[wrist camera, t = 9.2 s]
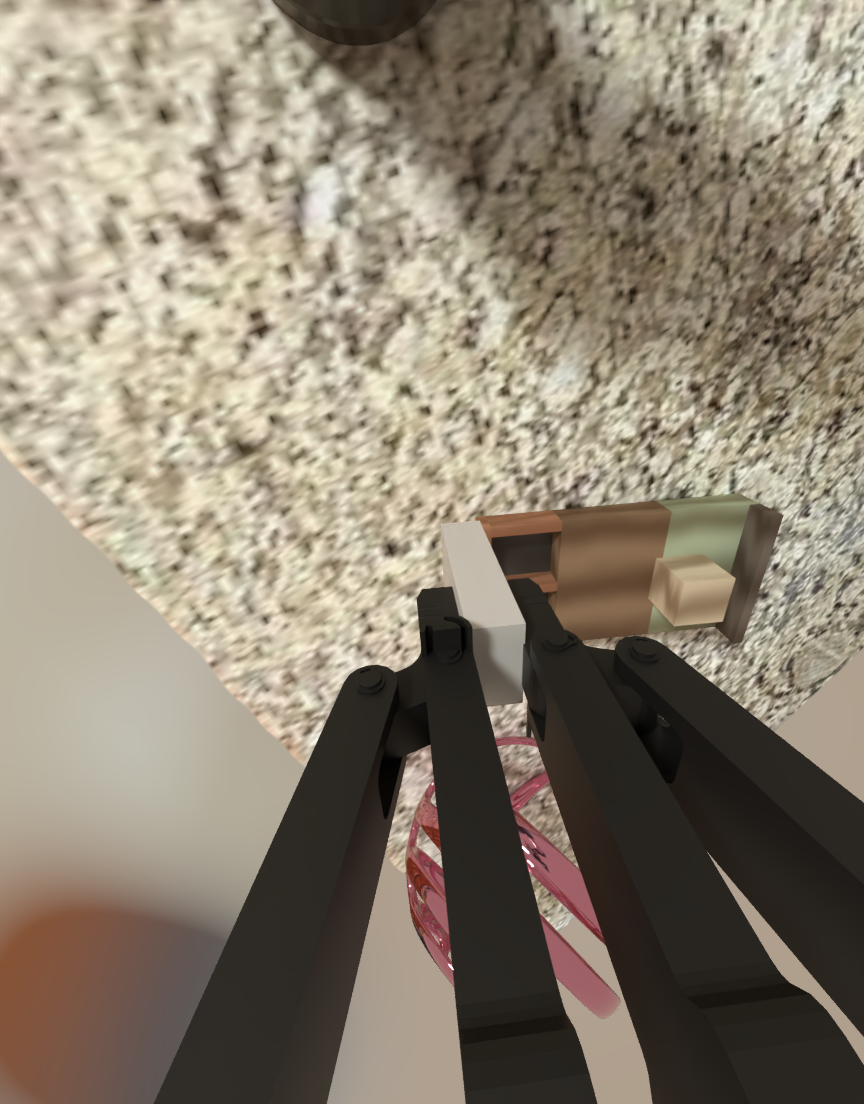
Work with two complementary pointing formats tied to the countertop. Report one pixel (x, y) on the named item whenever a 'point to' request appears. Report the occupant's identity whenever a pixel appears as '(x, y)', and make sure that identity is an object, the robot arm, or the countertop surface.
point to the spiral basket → (541, 864)
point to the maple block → (690, 589)
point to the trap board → (634, 558)
